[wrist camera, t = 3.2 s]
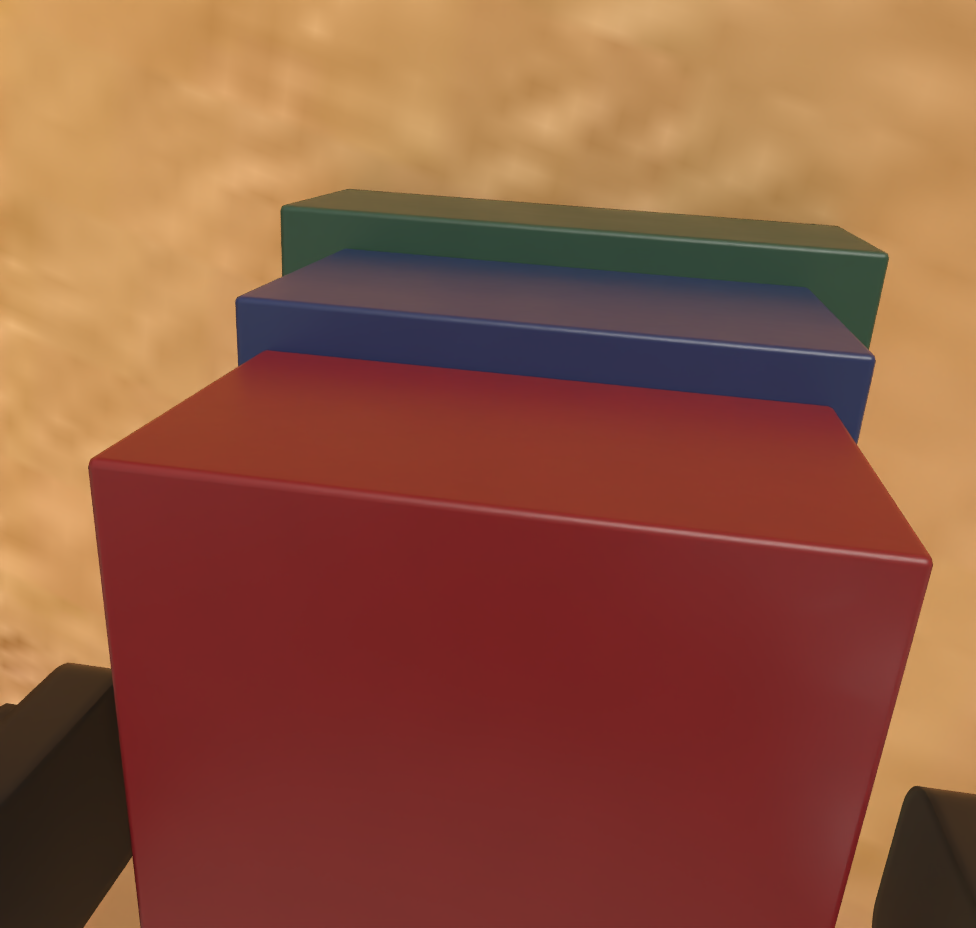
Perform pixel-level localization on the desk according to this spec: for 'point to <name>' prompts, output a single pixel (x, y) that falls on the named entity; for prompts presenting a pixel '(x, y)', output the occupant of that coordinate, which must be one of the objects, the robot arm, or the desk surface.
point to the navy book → (564, 327)
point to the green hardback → (595, 243)
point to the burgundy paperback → (496, 651)
